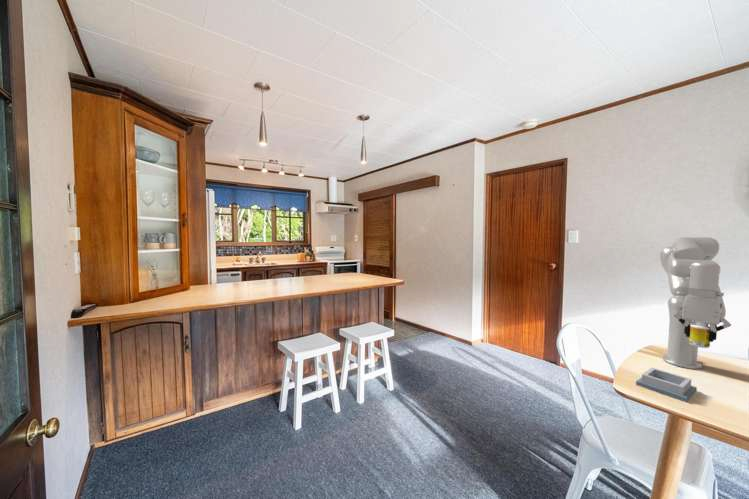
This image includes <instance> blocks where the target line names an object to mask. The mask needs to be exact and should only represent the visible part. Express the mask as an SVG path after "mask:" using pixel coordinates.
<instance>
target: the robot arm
mask: <svg viewBox="0 0 749 499" xmlns="http://www.w3.org/2000/svg"><path fill="white" fill-rule="evenodd" d="M719 251H720V244H719V242H718V240H717V239H715V238H712V237H693V236H691V237H690V236H689V237H688V236H687V237H680V238H677V239H676V240H675V241H674V242H672V246H666V247H663V248H662V249H661V250H660V253H659V259H660V264H661V266H662V268H663V269H664V271H665V273H666V274H667V276H668V277H667V278H668V284H669V290H670V293H671V295H672V296H671V297H670V298H669V299H668V300H667V307H668V314H669V316H668V317H669V324H668V326H669V328H668V338H667V339H668V340H667V354H665V355H663V356H662V360H663V361H665V362H666V363H668V364H671V365H673V366H675V367H680V368H685V369H689V370H690V369H692V370H700V369H702V368H703V364H701V363H700V362H699V361H698V354H699V347H696V346H693V345H691V344H689V334H690V324H693V321H698V322H703V323H707V324H709V325H708V326H710V327H711V331H710V338H709V341H710V343H713V342H714V341H717V337H718V336H717V335H718V332H720V331H721V330H725V329H728V328H729V327H731V326H732V324H731V322H730V321H728V320H727V319H726V311H727V310H726V305H725V302H724V299H723V297H724V296H725V295H724V294H725V293H724V292H721V288H720V286H719V282H720V273H721V266H720V265H719V263H718V262H716V261H714V260H713V259H714V258H715V257H717V255H718V254H719ZM721 323H722V324H721ZM720 324H721V325H720Z"/></svg>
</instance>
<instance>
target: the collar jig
mask: <svg viewBox="0 0 749 499" xmlns="http://www.w3.org/2000/svg"><path fill="white" fill-rule="evenodd" d="M635 385H636V386H637V387H640V388H641V387H642V388H644V389H647V390H650V391H653V392H655V393H658V394H661V395H664V396H667V397H670V398H672V399H675V400H678V401H682V402H684V403H687V402H688V401H689V400H690V399H691V398H692V397H693V395H694V394H695V393H696V392H697V388H698V386H697V387H696V386H694V385H692V378H689V377H686V376H682V375H679V374H676V373H672V372H669V371H665V370H662V369H659V368H655V367H651V368H649V369H648V370H647V371H645V372H643V373H642V374H641V377H640V378H639V379H637V380H636V381H635Z"/></svg>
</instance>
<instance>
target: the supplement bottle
mask: <svg viewBox="0 0 749 499" xmlns="http://www.w3.org/2000/svg"><path fill="white" fill-rule="evenodd" d="M711 330H712V329H711V327H710V325H709V324H707V323H703V322H698V321H693V324H690V334H689V344H691V345H693V346H696V347H698V348H701V349H708V348H711V347H710V346H711V342H710V341H709V338H710V331H711Z"/></svg>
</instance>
